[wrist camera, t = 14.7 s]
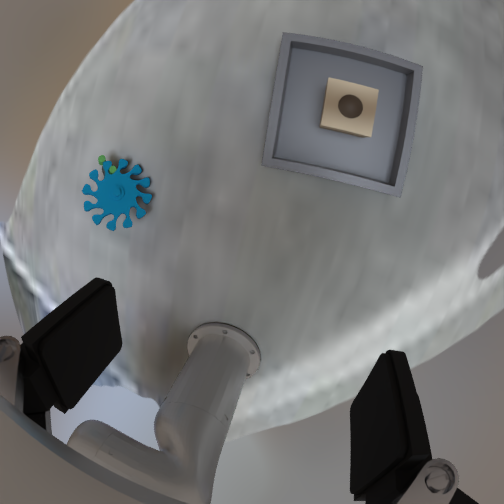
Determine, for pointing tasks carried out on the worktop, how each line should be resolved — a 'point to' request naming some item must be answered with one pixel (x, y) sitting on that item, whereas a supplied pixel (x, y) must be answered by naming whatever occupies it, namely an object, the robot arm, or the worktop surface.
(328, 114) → the maple block
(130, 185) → the gear
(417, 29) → the worktop surface
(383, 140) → the tray
